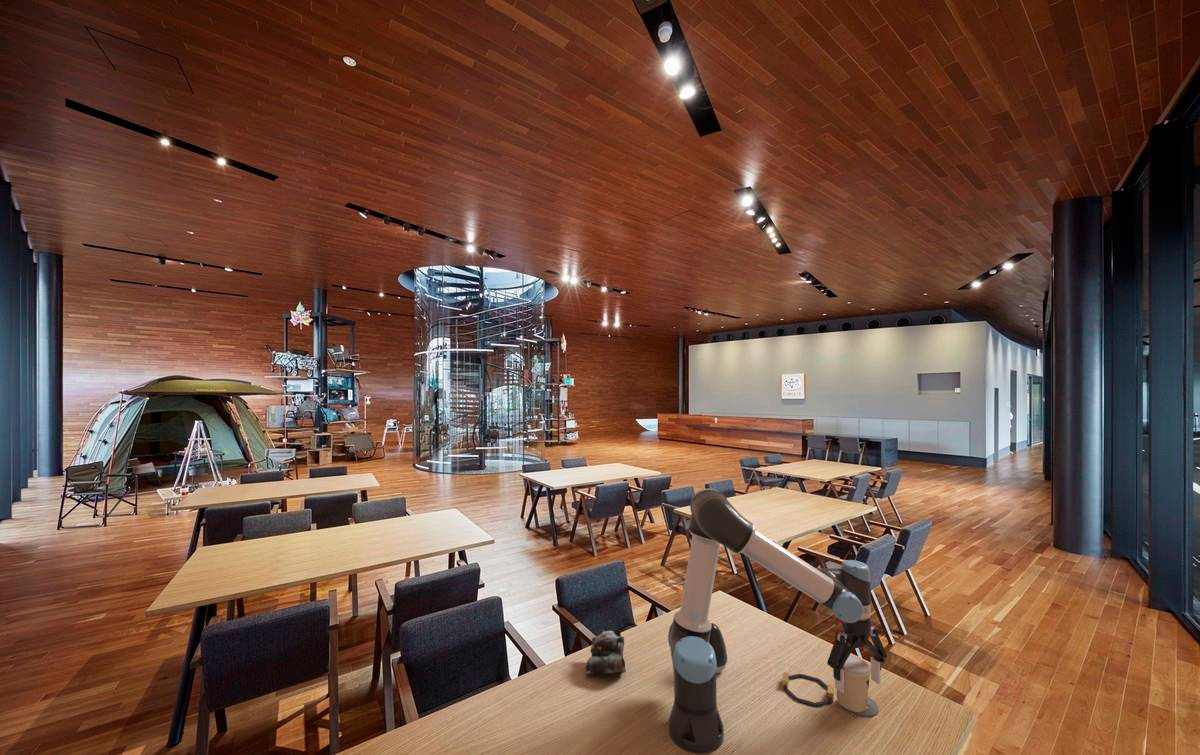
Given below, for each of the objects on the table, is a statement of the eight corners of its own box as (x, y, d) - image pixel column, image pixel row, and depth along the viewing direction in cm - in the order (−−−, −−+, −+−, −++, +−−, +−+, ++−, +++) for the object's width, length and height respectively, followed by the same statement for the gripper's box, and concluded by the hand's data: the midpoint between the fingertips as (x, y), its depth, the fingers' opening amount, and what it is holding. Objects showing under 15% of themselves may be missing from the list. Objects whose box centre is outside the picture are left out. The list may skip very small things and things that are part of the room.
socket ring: (805, 710, 135) (804, 701, 136) (774, 681, 149) (774, 673, 149) (843, 700, 139) (843, 692, 139) (810, 672, 153) (809, 665, 153)
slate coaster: (859, 720, 131) (859, 717, 131) (832, 697, 141) (832, 695, 141) (886, 712, 134) (886, 710, 134) (858, 690, 144) (858, 688, 144)
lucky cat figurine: (577, 674, 154) (579, 627, 161) (600, 673, 162) (602, 628, 169) (610, 677, 145) (611, 627, 152) (634, 677, 153) (634, 629, 160)
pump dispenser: (690, 668, 156) (689, 623, 157) (708, 656, 163) (707, 613, 163) (715, 682, 149) (714, 635, 149) (733, 669, 156) (732, 624, 156)
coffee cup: (875, 715, 132) (876, 673, 132) (842, 712, 133) (843, 670, 133) (860, 694, 141) (861, 655, 142) (828, 691, 142) (829, 652, 142)
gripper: (832, 627, 131) (833, 702, 130) (899, 614, 138) (901, 685, 137) (813, 614, 138) (814, 685, 138) (878, 603, 145) (879, 670, 145)
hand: (857, 685), depth 138 cm, fingers open, 13 cm apart
